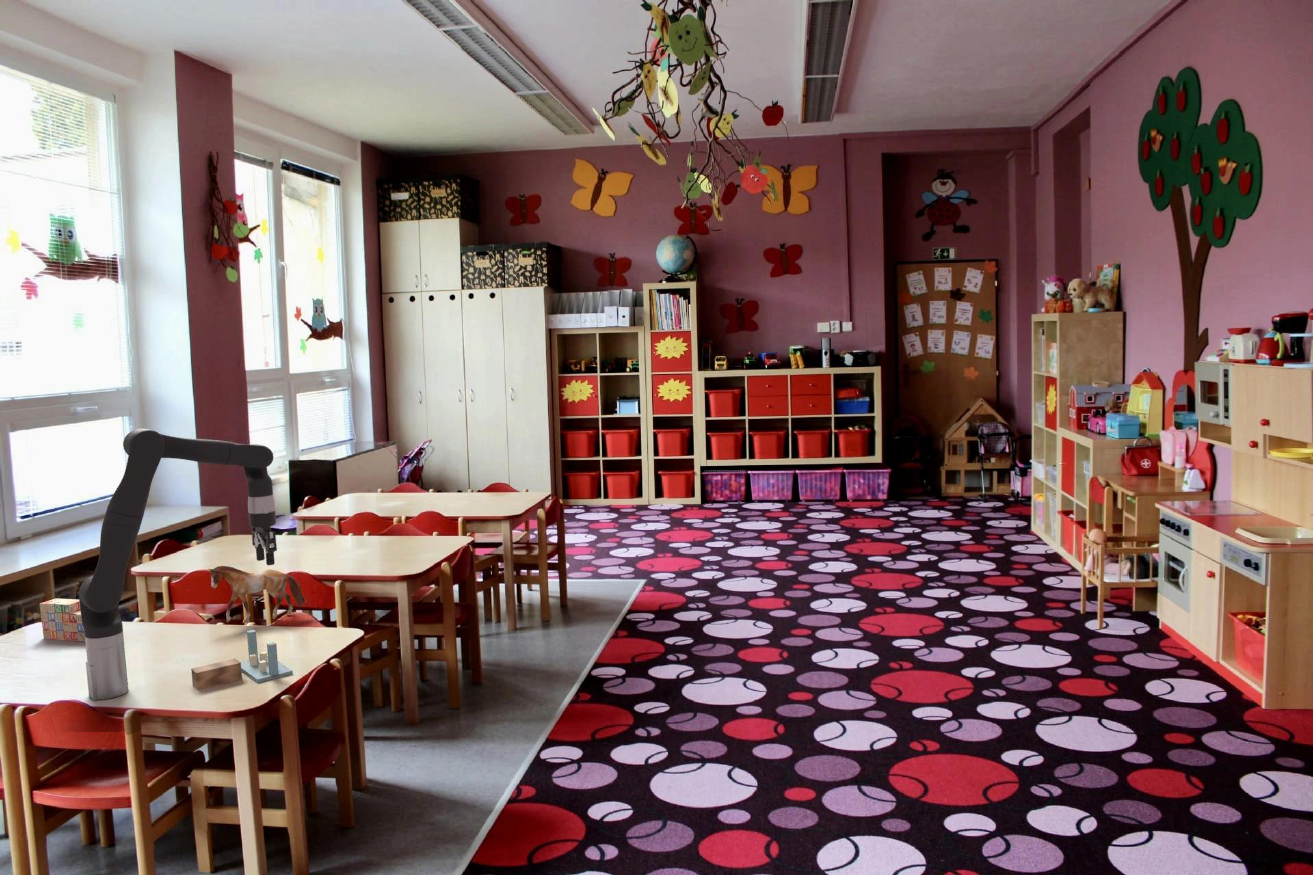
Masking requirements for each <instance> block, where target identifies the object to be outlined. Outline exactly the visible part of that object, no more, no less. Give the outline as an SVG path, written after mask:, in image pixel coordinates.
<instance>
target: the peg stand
mask: <svg viewBox="0 0 1313 875" xmlns="http://www.w3.org/2000/svg"><path fill="white" fill-rule="evenodd" d="M246 638H247V647H248V649H247V650H248V652H247V653H248V660H245V661H241V671H242V673H244V675H246V676H247V677H249V679H252V680H253V681H254V682H256V683H263V682H266V681H270V680H275V679H278V678H283V677H287V676H290V675H293V674H294V672H293V670H292V669H291V668H289V667H287V666H286V665H285V664H284V663H281V662H280V661H278V648H277V642H275V641H274V642H268V643H266V650H267V652H266V651H262V652H258V641H257V631H256V630H254V629H250V630H247V631H246ZM258 654H259V655H258Z"/></svg>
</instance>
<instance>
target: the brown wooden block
mask: <svg viewBox="0 0 1313 875" xmlns="http://www.w3.org/2000/svg"><path fill="white" fill-rule="evenodd" d="M241 662H242V661H241ZM241 662H240V660H238V659H236V658H232V659H228V660H223V661H219V662H215V663H210V664H205V665H201V666H197V667H192V668H191V679H192V680H191V683H192V686H193V687H194V688H195V689H197V690H201V689H205V688H209V687H214V686H218V685H222V684H226V683H231V682H234V681H238V680H243V676H242V675H243V674H242V673H243V672H242V671H241Z"/></svg>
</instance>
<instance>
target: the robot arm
mask: <svg viewBox="0 0 1313 875" xmlns="http://www.w3.org/2000/svg"><path fill="white" fill-rule="evenodd" d="M122 447H123V450H124V452H125V454H126V455H127V461H126V466H125V469H124V473H123V475H122V478H121V481H120V482H119V484H118V485H117V488H116V489H115V490H114V493H113V495H112V496H111V498H110V500H109V503H108V505H107V507H106V510H105V513H104V517H103V520H102V524H101V530H100V537H99V538H100V541H99V555H98V561H97V564H96V567H95V569H94V574H93V575H91V576H90V577H87V578H86V579H85V580H83V582H82V583H81V585H80V587H79V591H78V598H79V599H78V600H79V602H80V610H81V619H82V625H83V628H84V633H85V641H84V642H85V652H86V653H85V654H86V660H87V661H86V662H85V669H86V678H87V680H86V681H87V689H88V696H89V697H90V698H91V700H92V701H97V700H99V701H100V700H107V699H113V698H117V697H120V696H123V695H124V694H126V693H128V691H129V682H128V671H127V670H128V669H127V661H126V660H127V659H126V658H127V657H126V650H125V649H126V648H125V636H124V629H123V628H124V627H123V621H122V618H121V615H120V611H119V603H120V601H121V599H122V597H123V592H124V586H125V579H126V575H127V569H128V568H127V567H128V564H129V561H130V558H131V556H132V553H133V550H134V548H135V544H136V541H137V538H138V534H139V532H140V530H141V525H142V522H143V518H144V516H145V511H146V507H147V503H148V501H149V500H148V499H149V494H150V490H151V487H152V486H151V485H152V482H153V480H154V476H155V474H156V472H157V469H158V466H159V464H160V462H161V460H162V459H179V460H186V461H191V462H197V463H202V464H203V463H204V464H211V465H219V466H220V465H221V466H236V467H237V466H238V467H242V468H243V470H244V474H245V478H246V481H247V484H246V485H247V486H246V487H247V497H248V499H247V511H248V522H249V523H248V525H249V527H250V528H251V543H252V546H253V547H254V548H255V555H256V556H255V557H256V561H258V562H260V561H264V560H265V563H266V565H267V566H274V565H275V553H276V552H277V551H278V547H277V538H276V537H277V536H276V531H275V530H274V531H272V528H271V527H272V526H274V525H276V523H277V517H276V516H277V515H276V504H275V498H274V491H273V490H274V488H273V481H272V480H273V479H272V477H271V476H270V475H269V473H268V467H269V466H271V465H272V463H273V460H274V452H273V451H272V450H271V449H270V448H269V447H268V446H266V445H262V444H257V443H256V444H255V443H254V444H245V443H236V442H234V441H227V440H226V441H224V440H217V439H215V440H214V439H206V438H205V439H204V438H203V439H202V438H189V437H181V436H180V437H179V436H178V437H177V436H174V435H173V436H172V435H166V434H164V433H159V432H158V431H156V430H153V429H150V428H144V427H143V428H137V429H133V430H131V431H130V432H128V433H127V434H126V435H125V437H124V438H123V442H122Z"/></svg>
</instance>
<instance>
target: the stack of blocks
mask: <svg viewBox="0 0 1313 875" xmlns="http://www.w3.org/2000/svg"><path fill="white" fill-rule="evenodd" d="M39 609H40V610H39V611H40V620H41V625H42V626H41V627H42V635H43V639H49V640H59V641H60V640H61V641H76V642H77V641H79V642H85V633H84V628H83V625H82V619H81V610H80V602H79V599H73V598H72V599H71V598H53V599H50V600H46V601H44V602H40V603H39Z"/></svg>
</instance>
